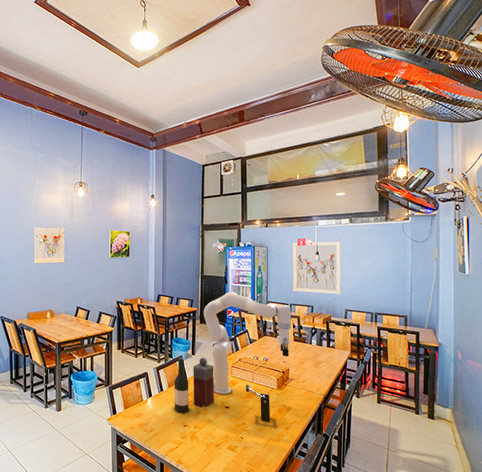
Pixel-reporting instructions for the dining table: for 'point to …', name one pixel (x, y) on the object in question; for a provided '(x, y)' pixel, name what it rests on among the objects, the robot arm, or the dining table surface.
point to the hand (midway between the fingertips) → (284, 353)
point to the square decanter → (203, 384)
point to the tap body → (265, 408)
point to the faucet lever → (253, 391)
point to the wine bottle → (181, 389)
